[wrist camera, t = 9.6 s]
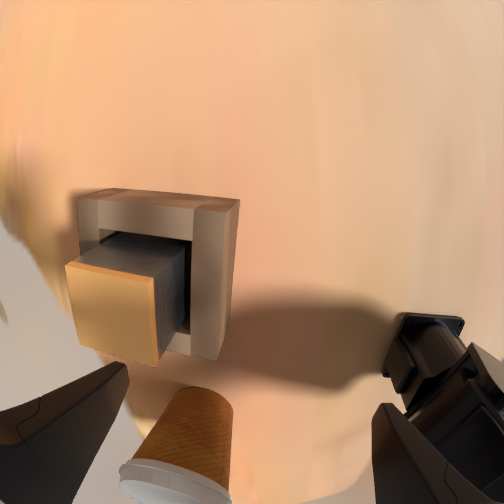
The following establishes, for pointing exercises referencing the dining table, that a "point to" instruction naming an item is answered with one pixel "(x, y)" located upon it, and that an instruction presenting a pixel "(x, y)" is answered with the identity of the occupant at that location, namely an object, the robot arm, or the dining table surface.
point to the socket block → (179, 227)
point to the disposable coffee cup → (184, 453)
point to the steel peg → (131, 295)
